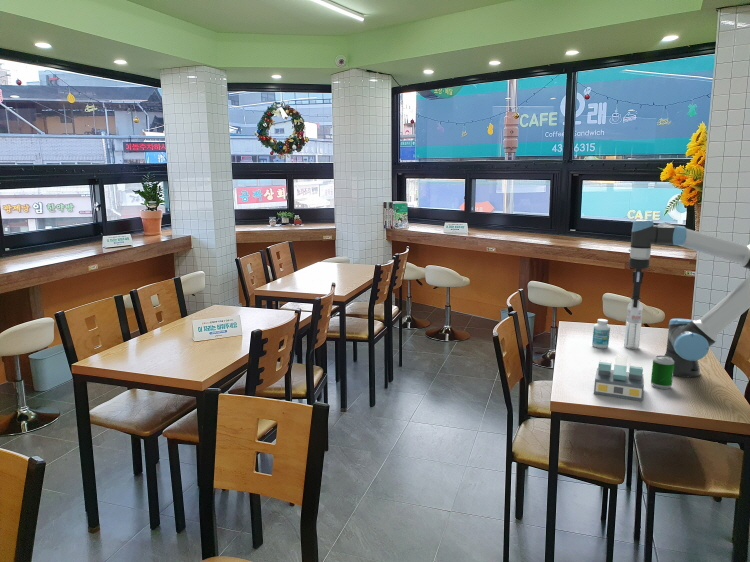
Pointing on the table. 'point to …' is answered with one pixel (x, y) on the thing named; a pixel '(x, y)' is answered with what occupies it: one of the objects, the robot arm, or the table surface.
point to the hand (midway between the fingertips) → (634, 314)
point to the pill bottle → (601, 334)
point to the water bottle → (633, 328)
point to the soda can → (662, 372)
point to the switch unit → (619, 385)
